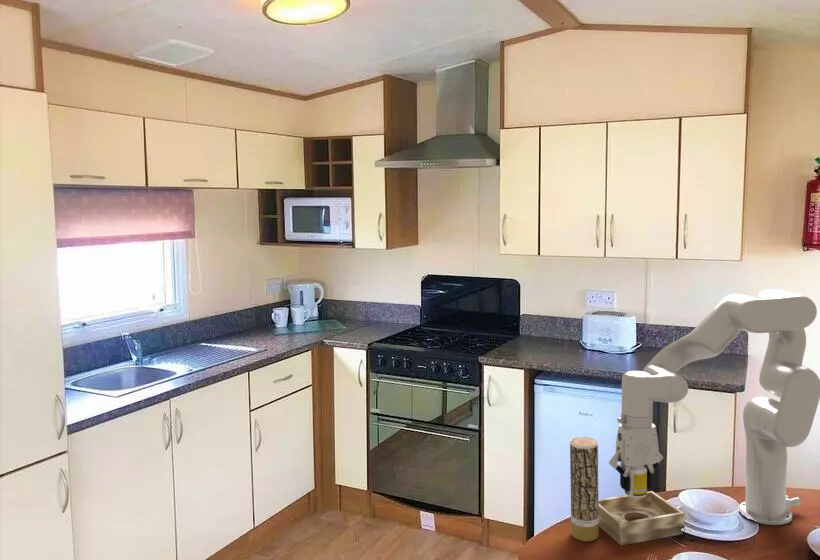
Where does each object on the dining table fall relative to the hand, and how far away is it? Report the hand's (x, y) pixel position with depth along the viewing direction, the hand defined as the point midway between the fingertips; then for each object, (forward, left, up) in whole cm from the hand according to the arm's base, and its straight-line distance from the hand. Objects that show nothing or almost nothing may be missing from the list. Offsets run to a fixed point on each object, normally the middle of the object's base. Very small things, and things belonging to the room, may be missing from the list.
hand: (635, 487), depth 178 cm
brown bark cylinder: (+15, 0, -11) cm, 18 cm away
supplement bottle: (0, 0, -2) cm, 2 cm away
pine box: (0, 0, -11) cm, 11 cm away
